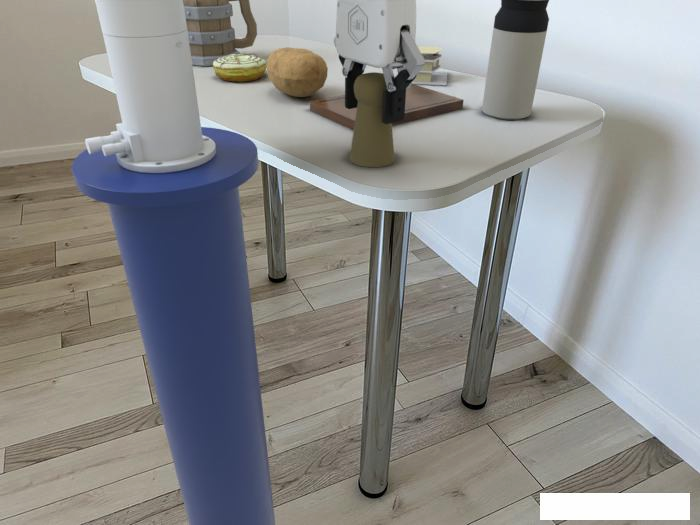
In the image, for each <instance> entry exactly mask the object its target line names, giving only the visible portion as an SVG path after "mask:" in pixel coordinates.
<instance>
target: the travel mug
mask: <svg viewBox="0 0 700 525" xmlns="http://www.w3.org/2000/svg"><path fill="white" fill-rule="evenodd" d="M500 2H501V3H500V8H498V11H497V12H496V14H495V15H494V22H493V29H492V34H491V43H490V49H489V57H488V63H487V72H486V78H485V85H484V90H483V91H484V92H483V98H482V105H481V112H483V113H484V114H486V115H487V116H488V117H492V118H496V119H499V120H513V121H514V120H522V119H525V118H527V117H529V116H531V115H532V110H533V105H534V99H535V94H536V90H537V85H538V79H539V73H540V68H541V63H542V58H543V53H544V48H545V43H546V37H547V32H548V26H549V21H550V18H549V13H548V10H547V7H548V4H549V2H550V0H500Z"/></svg>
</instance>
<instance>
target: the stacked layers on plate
mask: <svg viewBox="0 0 700 525" xmlns="http://www.w3.org/2000/svg"><path fill="white" fill-rule="evenodd" d="M417 47H418V49H419V50H420V52H421V54H422V56H423V57H424V59H425V65H424V66H423V68H422V69H421V70H420V71H419V73H418V74H417V76H416V78H415V79H414V80H413V81H412V82H411V83H412V84H415V85H428V86H447V84H448V72H444V73H443V72H437V71H438V70H440V69H441V64H440V59H441V58H442V54H440V53H439V52H440V51H442V50H443V47H440V46H417Z"/></svg>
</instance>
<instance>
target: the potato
mask: <svg viewBox="0 0 700 525" xmlns="http://www.w3.org/2000/svg"><path fill="white" fill-rule="evenodd" d="M266 66H267V67H266V74H267V78H268V80H269V81H270V82H271V83H272V85H273V86H274V88H276V89H277V90H278V91H279V92H281V93H283V94H287V95H288V96H291V97H293V98H306V97H310V96H314V95H315V94H316V93H318V91H320V90H321V89H322V88H323V87H324V86H325V83H326V82H327V79H328V72H329V70H328V69H329V68H328V64H327V62H326V61H325V59H324V58H323V57H322V56H320V55H319V54H317V53H315V52H313V51H311V50H309V49H307V48H296V47H281V48H280V47H279V48H277V49H275V50H273V51H272V52H271V53H270V54H269V56H268V57H267V60H266Z"/></svg>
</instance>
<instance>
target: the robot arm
mask: <svg viewBox="0 0 700 525" xmlns="http://www.w3.org/2000/svg"><path fill="white" fill-rule="evenodd" d="M94 4H95V7H96V12H97V15H98V20H99V24H100V29H101V33H102V36H103V37H102V38H103V41H104V46H105V50H106V56H107V59H108V64H109V69H110V73H111V76H112V77H111V78H112V82H113V87H114V92H115V96H116V100H117V106H118V109H119V110H118V111H119V114H120V115H119V116H120V118H121V122H119V123H116V124H115V126H116V130H114V131H110V135H104V136H101V135H100V136H99V135H98V136H93V137H89V138H85V139H84V143H85V147H86V149H87V150H88V152H89V154H95V153H100V152H103V154H104V156H110V155H115V154H116V155H117V160H118V163H119V164H120V165H121V166H122V167H124V168H126V169H128V170H131V171H135V172H141V173H171V172H178V171H183V170H187V169H191V168H194V167H198V166H200V165H202V164H205V163H206V162H208V161H210V160H211V159H212V158H213V157H214V156H215V154H216V145H215V142H214V141H213V140H212V139H210V138H209V137H206V136H204V135H202V130H201V127H202V124H201V116H200V110H199V102H198V96H197V88H196V87H197V86H196V80H195V74H194V67H193V66H194V65H192V59H191V52H190V45H189V38H188V30H187V25H186V18H185V11H184V5H183V0H94ZM335 17H336V19H335V20H336V22H335V36H334V38H333V45H334V47H335V50H336V52H337V54H338V59H339V61H340V64H341V66H342V69H341V73H342V76H343V77H344V95H345V107H346V108H347V109H352V108H357V104H358V100H357V99H356V97H355V94H354V83H355V80H356V79H357V77H358V76H360V75H361V74H365V70H366V67H367V66H368V67H372V68H376V69H381V70H382V73H383V74H384V78H385V82H386V86H387V90H384V91H383V100H382V123H384V124H390V123H394V122H399V121H402V120H403V119H404V115H405V100H406V89H408V88H410V85H411V82H412V81H413V80H414V79H415V78H416V76H417V74H418V73H419V71H420V70H421V69H422V68H423V66H424V65H425V59H424V57H423V56H422V54H421V52H420V50H419V49H418V47H419V46H418V45H417V43H416V36H417V0H337V4H336V16H335ZM395 69H396V71H397V75H395V74H394V70H395Z"/></svg>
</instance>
